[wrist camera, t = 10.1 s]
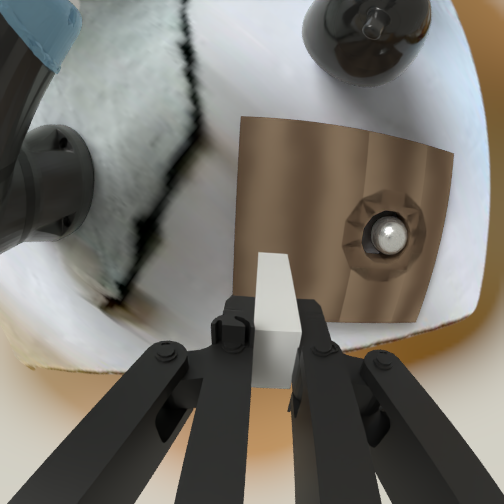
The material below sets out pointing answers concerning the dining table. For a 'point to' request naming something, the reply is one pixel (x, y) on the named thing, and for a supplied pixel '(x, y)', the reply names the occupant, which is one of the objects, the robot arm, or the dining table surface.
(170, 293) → the dining table surface
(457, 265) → the dining table surface
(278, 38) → the dining table surface
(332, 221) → the walnut board
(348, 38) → the pump dispenser
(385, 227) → the steel ball
